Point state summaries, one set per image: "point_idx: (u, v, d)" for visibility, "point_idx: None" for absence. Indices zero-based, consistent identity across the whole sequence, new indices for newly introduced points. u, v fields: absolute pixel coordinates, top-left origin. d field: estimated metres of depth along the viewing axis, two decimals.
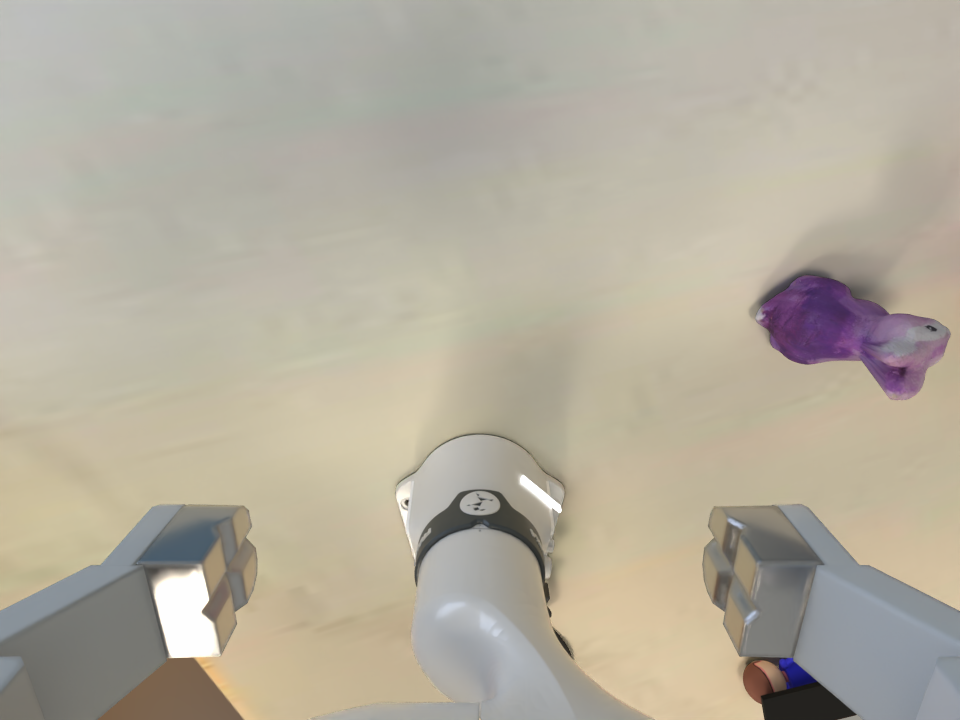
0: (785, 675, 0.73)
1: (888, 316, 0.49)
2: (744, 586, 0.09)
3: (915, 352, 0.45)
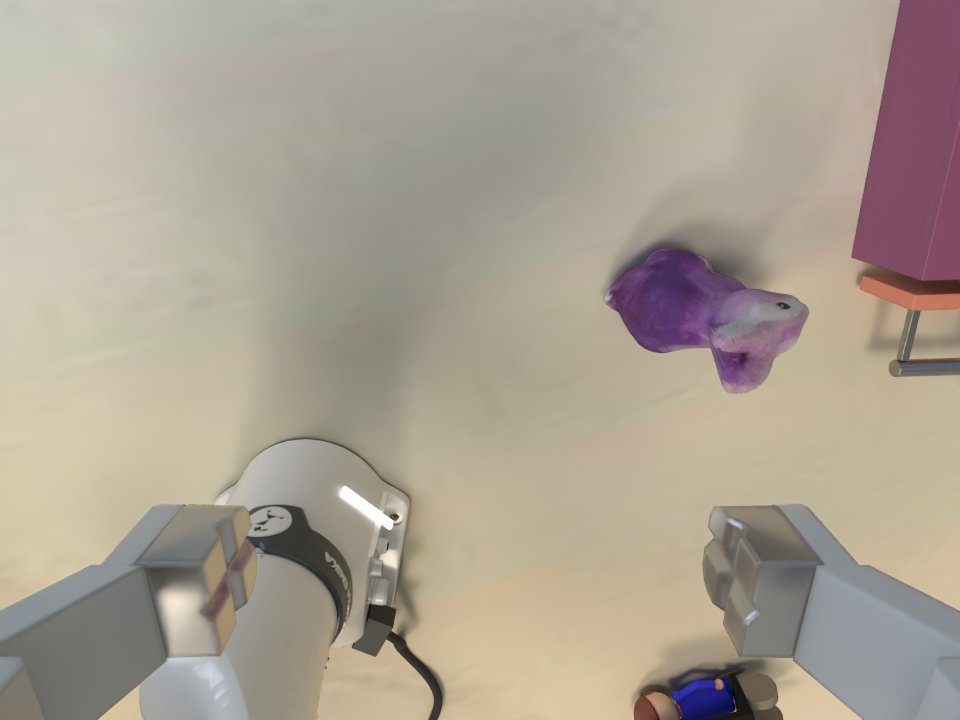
0: (679, 709, 0.64)
1: (735, 292, 0.41)
2: (744, 586, 0.09)
3: (752, 334, 0.36)
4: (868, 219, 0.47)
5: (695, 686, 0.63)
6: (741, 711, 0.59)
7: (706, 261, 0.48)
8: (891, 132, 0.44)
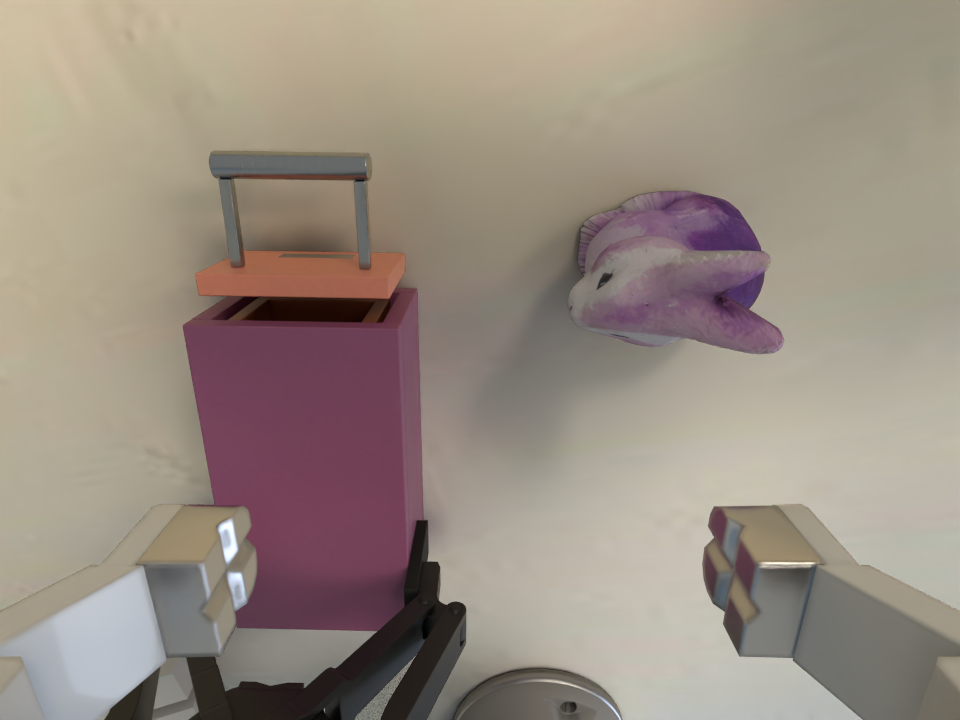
0: None
1: None
2: (744, 586, 0.09)
3: (718, 344, 0.24)
4: (416, 342, 0.38)
5: None
6: None
7: None
8: (417, 435, 0.40)
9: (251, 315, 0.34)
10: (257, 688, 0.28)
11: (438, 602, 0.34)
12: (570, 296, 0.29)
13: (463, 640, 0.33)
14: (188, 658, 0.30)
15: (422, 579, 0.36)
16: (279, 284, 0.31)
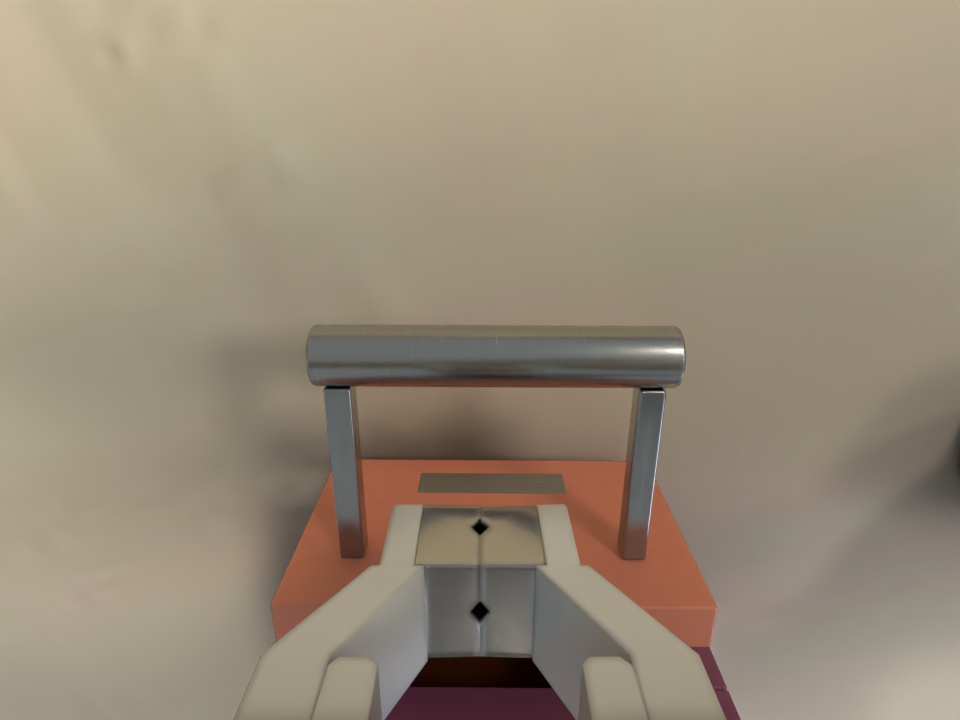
0: None
1: None
2: None
3: None
4: None
5: None
6: None
7: None
8: None
9: None
10: None
11: None
12: None
13: None
14: None
15: None
16: None
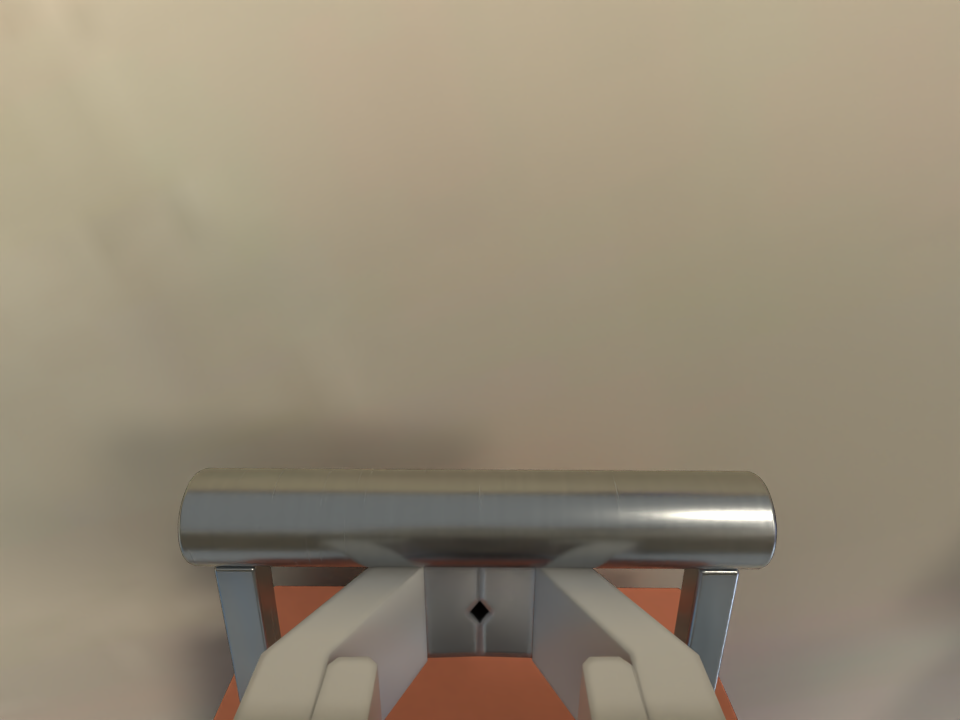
0: None
1: None
2: None
3: None
4: None
5: None
6: None
7: None
8: None
9: None
10: None
11: None
12: None
13: None
14: None
15: None
16: None
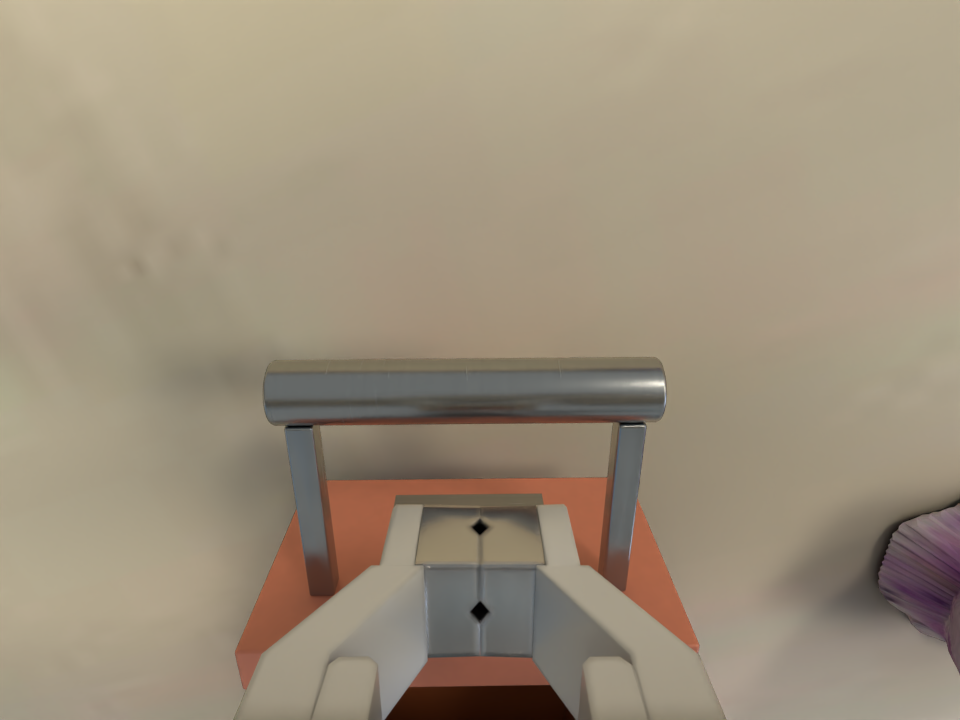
0: None
1: None
2: None
3: None
4: None
5: None
6: None
7: (927, 634, 0.23)
8: None
9: None
10: None
11: None
12: None
13: None
14: None
15: None
16: (437, 666, 0.13)
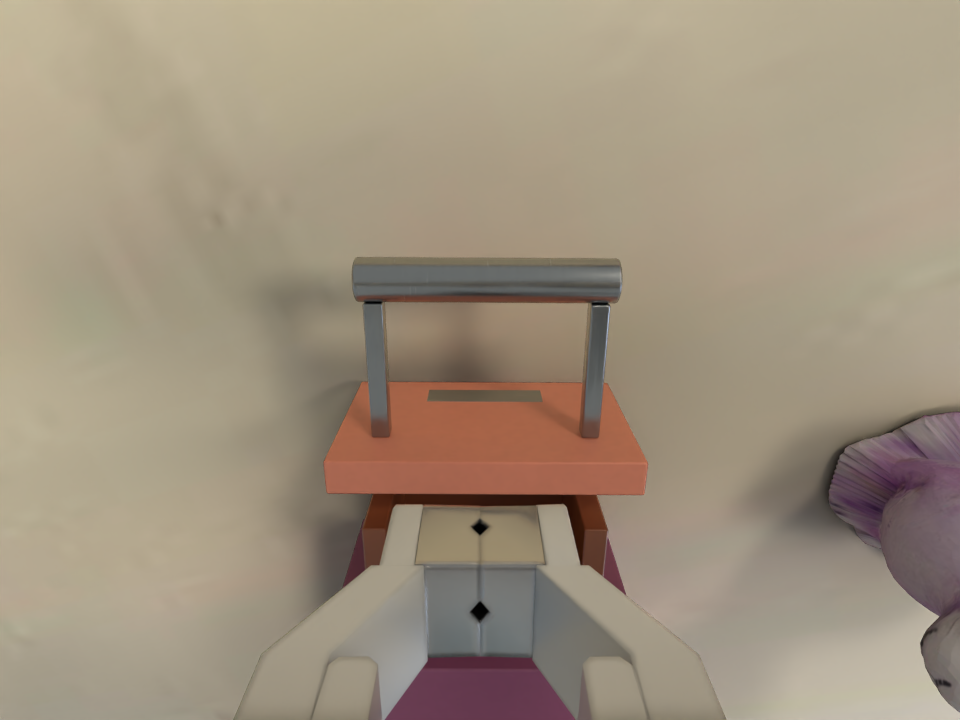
0: None
1: None
2: None
3: None
4: None
5: None
6: None
7: (870, 544, 0.27)
8: None
9: (393, 500, 0.21)
10: None
11: None
12: (939, 659, 0.18)
13: None
14: None
15: None
16: (463, 476, 0.18)
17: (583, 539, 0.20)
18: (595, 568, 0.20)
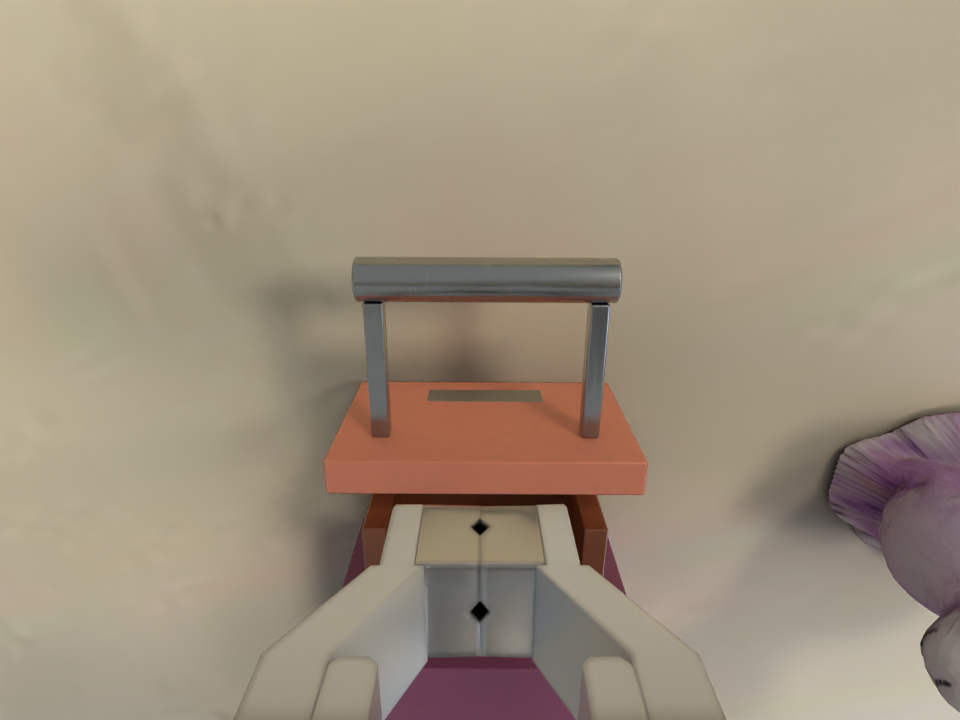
0: None
1: None
2: None
3: None
4: None
5: None
6: None
7: (870, 544, 0.27)
8: None
9: (393, 500, 0.21)
10: None
11: None
12: (939, 659, 0.18)
13: None
14: None
15: None
16: (463, 475, 0.18)
17: (583, 539, 0.20)
18: (595, 568, 0.20)
